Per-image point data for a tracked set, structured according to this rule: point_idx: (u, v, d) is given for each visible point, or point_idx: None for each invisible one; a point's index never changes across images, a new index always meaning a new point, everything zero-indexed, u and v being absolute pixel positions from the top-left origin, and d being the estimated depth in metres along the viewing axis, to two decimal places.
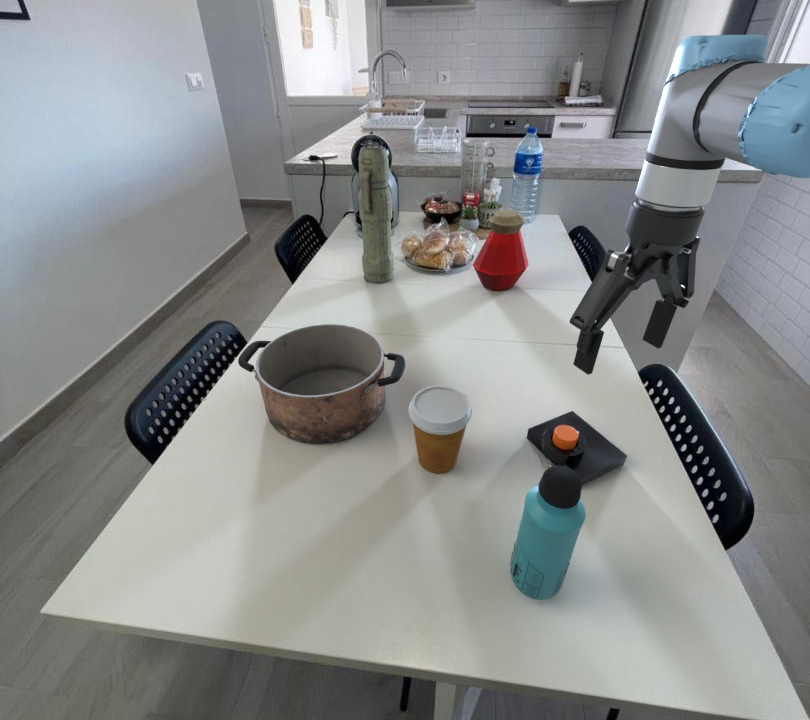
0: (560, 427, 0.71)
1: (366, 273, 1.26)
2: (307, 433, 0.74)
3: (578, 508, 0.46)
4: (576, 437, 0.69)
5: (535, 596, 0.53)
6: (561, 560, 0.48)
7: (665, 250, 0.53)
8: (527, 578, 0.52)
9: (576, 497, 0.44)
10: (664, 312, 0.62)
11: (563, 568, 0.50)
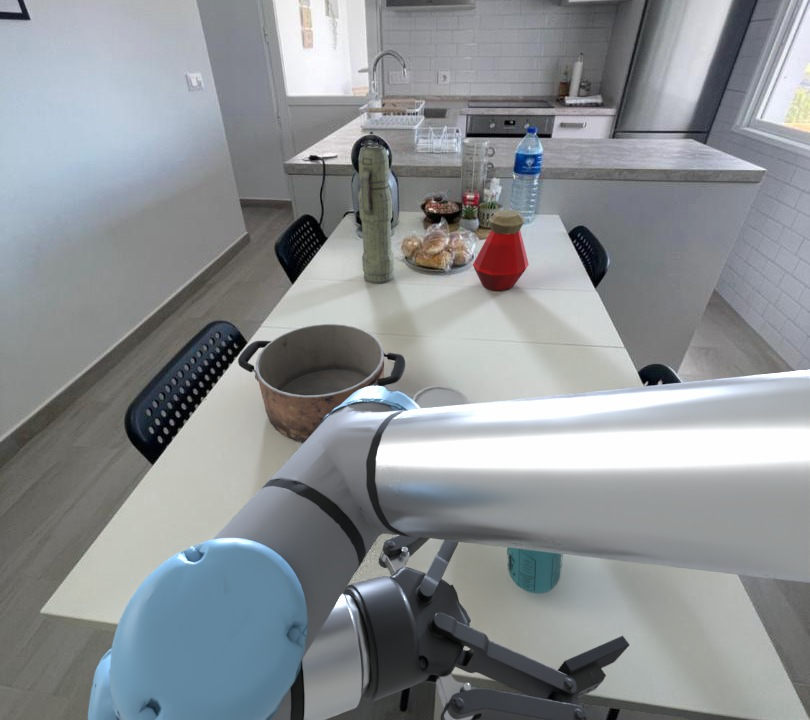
0: None
1: (366, 273, 1.26)
2: (307, 433, 0.74)
3: None
4: None
5: (533, 588, 0.53)
6: None
7: (417, 606, 0.35)
8: (521, 568, 0.52)
9: None
10: None
11: (554, 553, 0.50)
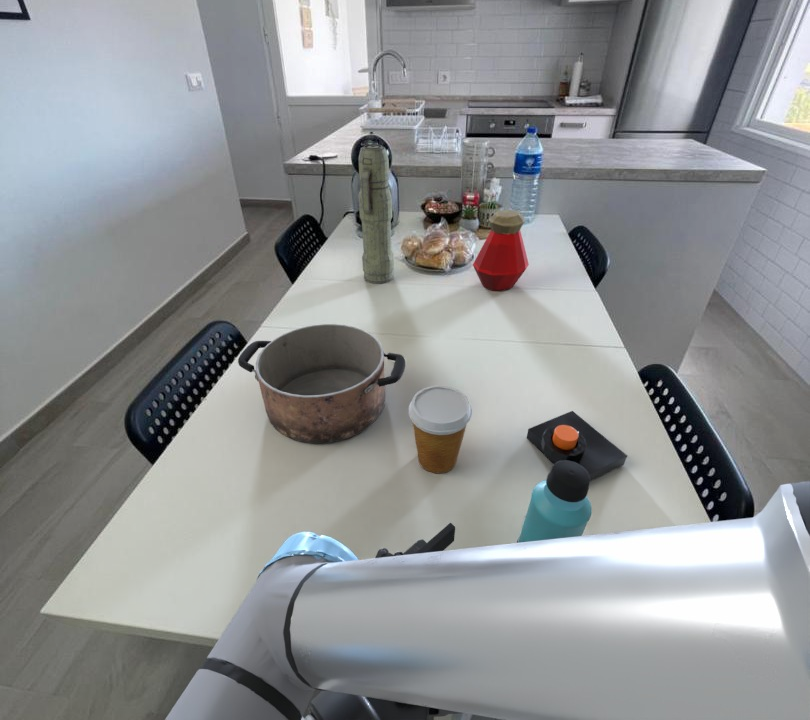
0: (560, 427, 0.71)
1: (366, 273, 1.26)
2: (307, 433, 0.74)
3: (584, 504, 0.46)
4: (576, 437, 0.69)
5: None
6: None
7: None
8: None
9: (584, 491, 0.45)
10: None
11: None
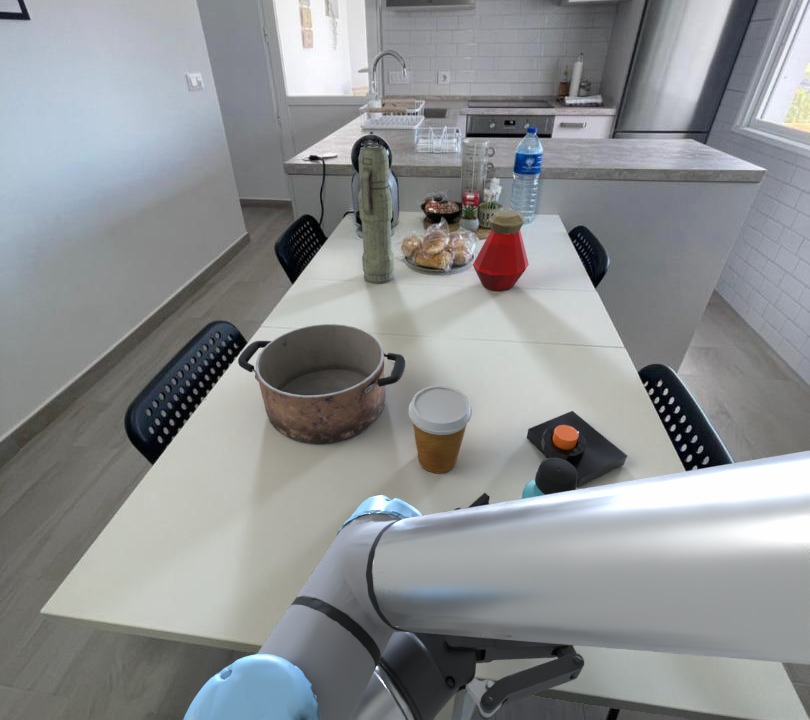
0: (560, 427, 0.71)
1: (366, 273, 1.26)
2: (307, 433, 0.74)
3: None
4: (576, 437, 0.69)
5: None
6: None
7: (429, 634, 0.41)
8: None
9: (571, 488, 0.45)
10: None
11: None
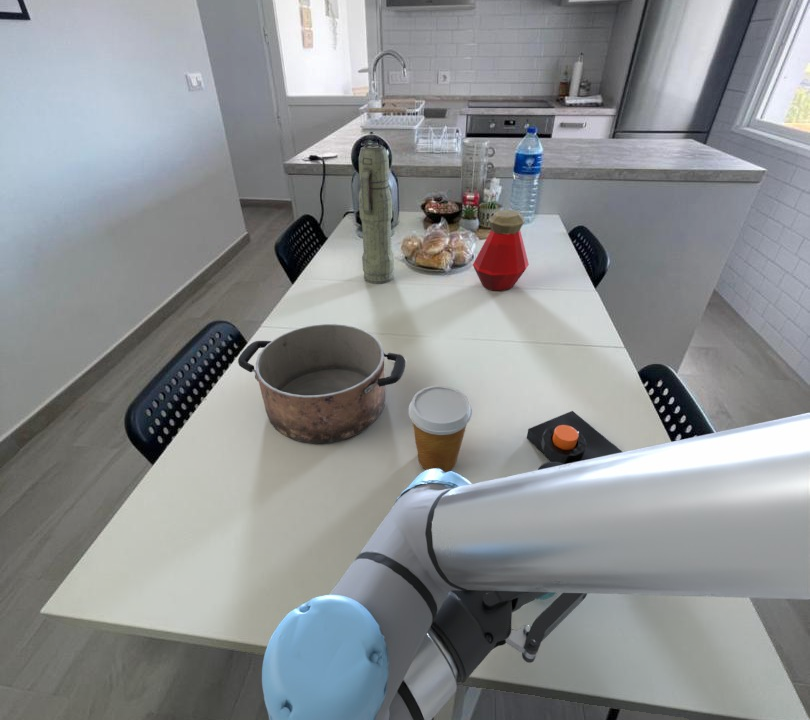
0: (560, 427, 0.71)
1: (366, 273, 1.26)
2: (307, 433, 0.74)
3: None
4: (576, 437, 0.69)
5: None
6: None
7: None
8: None
9: None
10: None
11: None
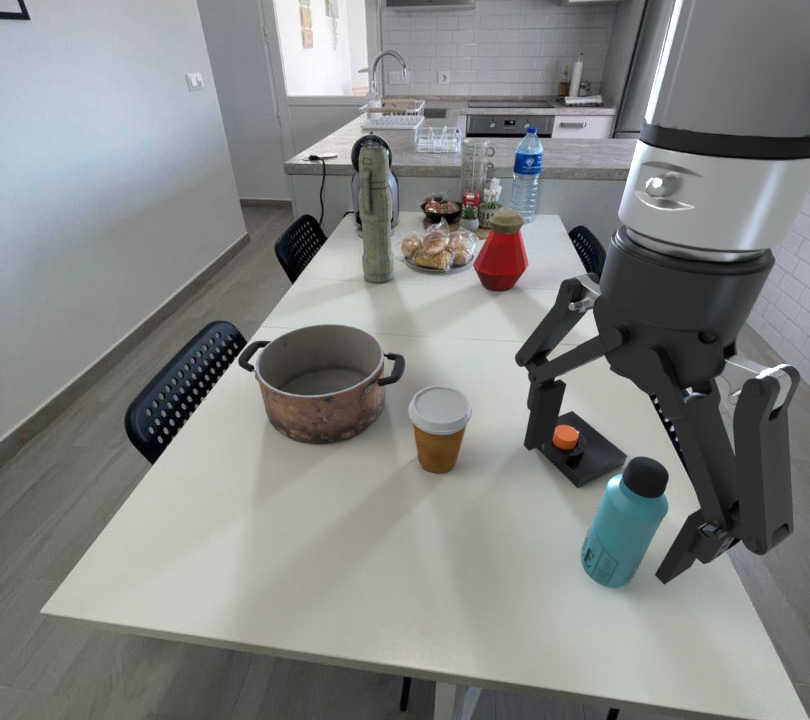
0: (560, 427, 0.71)
1: (366, 273, 1.26)
2: (307, 433, 0.74)
3: (661, 500, 0.47)
4: (576, 437, 0.69)
5: (605, 583, 0.54)
6: (638, 549, 0.49)
7: None
8: (599, 564, 0.53)
9: (662, 488, 0.45)
10: (555, 397, 0.37)
11: (638, 558, 0.51)
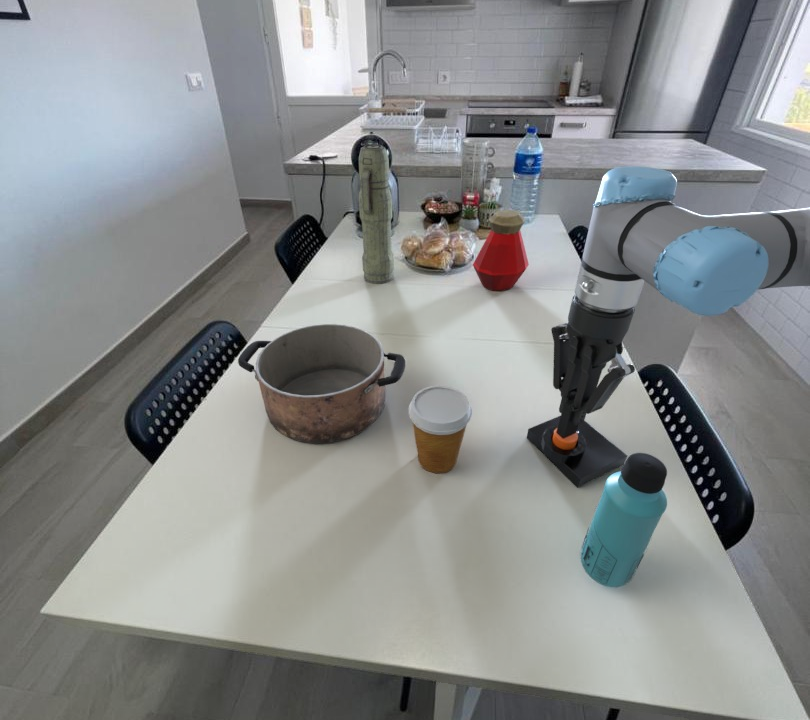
0: None
1: (366, 273, 1.26)
2: (307, 433, 0.74)
3: (660, 496, 0.47)
4: (576, 439, 0.70)
5: (604, 582, 0.54)
6: (637, 547, 0.50)
7: None
8: (598, 562, 0.53)
9: (660, 484, 0.45)
10: None
11: (637, 556, 0.51)
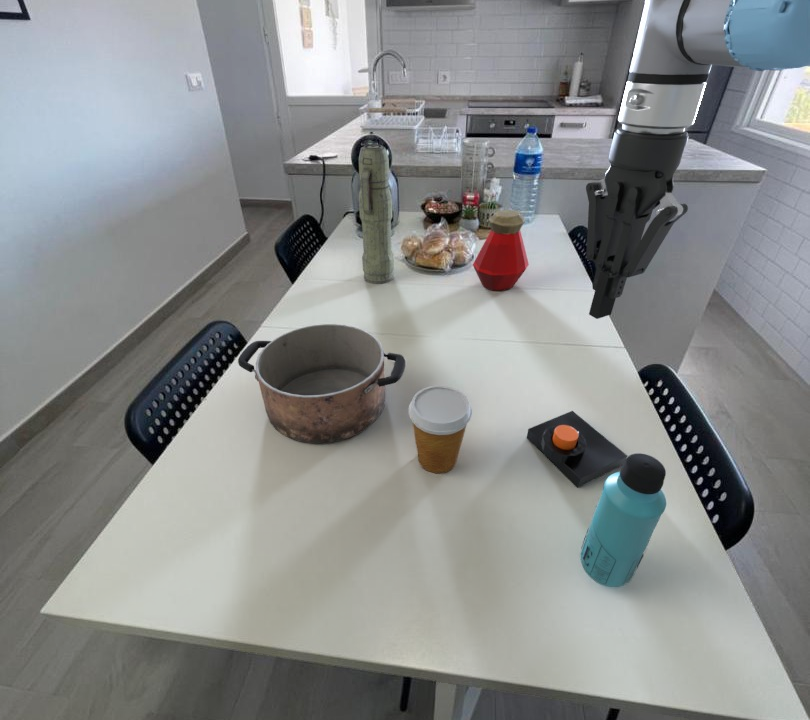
0: (560, 427, 0.71)
1: (366, 273, 1.26)
2: (307, 433, 0.74)
3: (658, 497, 0.47)
4: (576, 437, 0.69)
5: (604, 582, 0.54)
6: (636, 547, 0.49)
7: None
8: (598, 562, 0.53)
9: (659, 484, 0.45)
10: None
11: (636, 557, 0.51)
